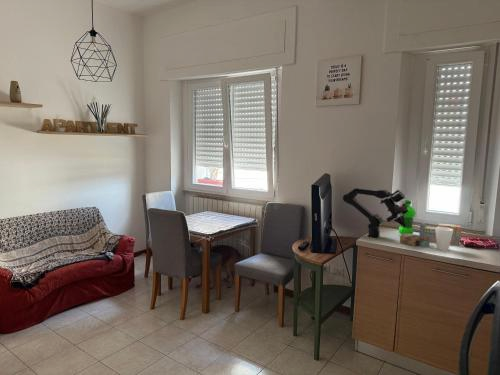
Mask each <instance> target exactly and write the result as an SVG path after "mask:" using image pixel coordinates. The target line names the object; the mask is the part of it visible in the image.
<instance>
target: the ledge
mask: <svg viewBox="0 0 500 375" xmlns="http://www.w3.org/2000/svg"><path fill="white" fill-rule="evenodd" d="M424 238H425V237H424ZM424 238H423V239H424ZM423 239H422V238H419V234H418V235H417V234H414V233H413V234H407V233H404V234H402V235H401V234H400V236H399V244H401V245H408V246H413V247H416V246H417V245H419V241H422V240H423Z"/></svg>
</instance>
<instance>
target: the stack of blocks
mask: <svg viewBox="0 0 500 375" xmlns="http://www.w3.org/2000/svg"><path fill="white" fill-rule="evenodd" d="M437 227H446V228H451V229H453V234H452V237H451V241H450V245H452V246H453V245H454V246H461V245H460V243H461V236H462V226H461V225H458V224H453V223H452V224H451V223H450V224H449V223H438V226H437ZM435 230H436V227H435V226H426V229H425V238H424V239H425V240H429V241H430V243H434V244H435V243H436V232H435Z"/></svg>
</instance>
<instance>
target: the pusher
mask: <svg viewBox="0 0 500 375" xmlns="http://www.w3.org/2000/svg"><path fill="white" fill-rule="evenodd" d="M426 227H427V223H425V222H422V223H420V224H419V234H418V235H419V238H422V239H423V238H424V237H425V229H426Z"/></svg>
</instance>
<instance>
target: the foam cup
mask: <svg viewBox="0 0 500 375" xmlns="http://www.w3.org/2000/svg"><path fill="white" fill-rule="evenodd" d="M435 232H436V249H437V250H438V251H442V252H443V251H444V252H446V251H449V249H450V246H451V244H450V241H451V237H452V234H453V229H451V228H446V227H438V226H437V227H436V230H435Z"/></svg>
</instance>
